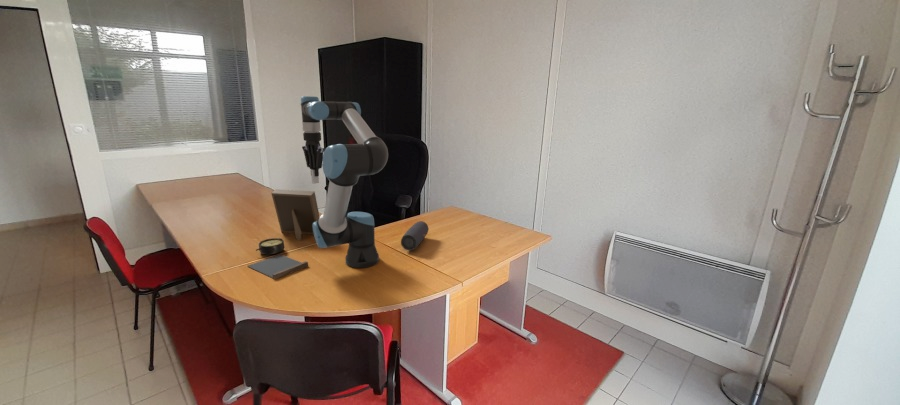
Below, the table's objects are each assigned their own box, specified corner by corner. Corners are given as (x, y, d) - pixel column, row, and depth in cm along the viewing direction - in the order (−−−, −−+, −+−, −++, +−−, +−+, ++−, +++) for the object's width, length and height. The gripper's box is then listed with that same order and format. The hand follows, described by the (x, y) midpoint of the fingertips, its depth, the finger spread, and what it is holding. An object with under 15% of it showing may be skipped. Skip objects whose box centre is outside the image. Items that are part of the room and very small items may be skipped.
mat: (307, 265, 166) (307, 264, 166) (274, 279, 153) (274, 278, 153) (280, 255, 177) (280, 254, 176) (247, 266, 164) (247, 265, 163)
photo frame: (285, 229, 211) (281, 186, 204) (322, 232, 209) (319, 188, 202) (270, 239, 196) (265, 193, 189) (310, 241, 194) (306, 195, 188)
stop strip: (308, 266, 166) (307, 261, 165) (274, 279, 153) (274, 274, 152) (306, 265, 167) (305, 261, 166) (272, 278, 154) (272, 273, 153)
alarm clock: (252, 247, 172) (269, 233, 188) (254, 257, 174) (270, 243, 190) (276, 247, 173) (290, 234, 188) (277, 258, 174) (291, 243, 190)
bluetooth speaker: (417, 253, 183) (418, 234, 180) (399, 251, 184) (399, 232, 182) (429, 238, 204) (429, 220, 202) (413, 236, 206) (413, 219, 203)
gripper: (328, 132, 167) (331, 183, 173) (309, 130, 173) (313, 179, 180) (314, 133, 161) (317, 186, 167) (295, 131, 167) (299, 182, 174)
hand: (315, 182), depth 173 cm, fingers closed
